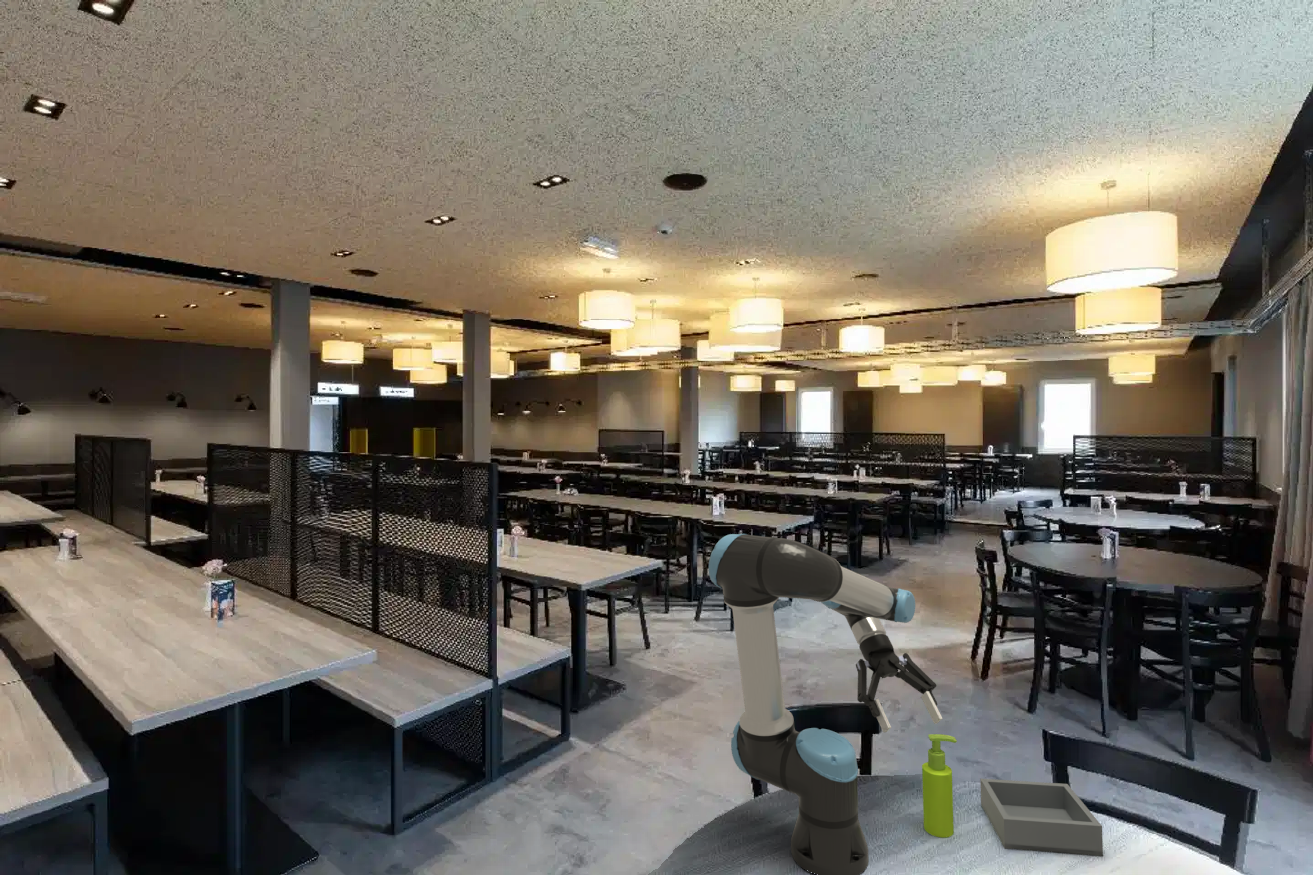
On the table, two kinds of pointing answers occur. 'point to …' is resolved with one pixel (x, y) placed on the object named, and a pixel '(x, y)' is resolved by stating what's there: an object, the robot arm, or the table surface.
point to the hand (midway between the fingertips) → (913, 725)
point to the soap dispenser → (938, 790)
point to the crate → (1040, 817)
